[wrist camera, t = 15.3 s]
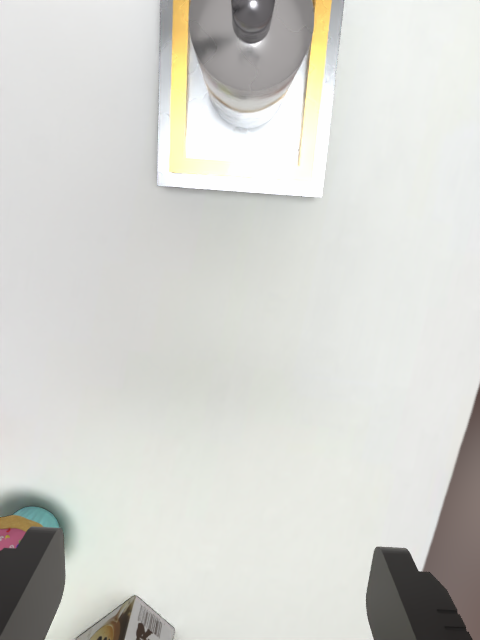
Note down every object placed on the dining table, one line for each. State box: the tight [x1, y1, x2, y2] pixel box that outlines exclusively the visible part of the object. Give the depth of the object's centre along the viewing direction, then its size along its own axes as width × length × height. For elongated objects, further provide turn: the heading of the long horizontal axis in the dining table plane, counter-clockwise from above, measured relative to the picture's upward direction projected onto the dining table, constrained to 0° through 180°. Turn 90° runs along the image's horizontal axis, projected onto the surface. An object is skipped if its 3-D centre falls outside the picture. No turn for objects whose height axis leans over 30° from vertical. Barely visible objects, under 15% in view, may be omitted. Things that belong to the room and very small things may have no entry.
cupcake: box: [0, 507, 59, 551], centre depth 39 cm, size 9×8×12 cm
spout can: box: [189, 0, 314, 128], centre depth 24 cm, size 5×5×15 cm
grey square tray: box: [157, 0, 344, 197], centre depth 32 cm, size 12×14×4 cm
